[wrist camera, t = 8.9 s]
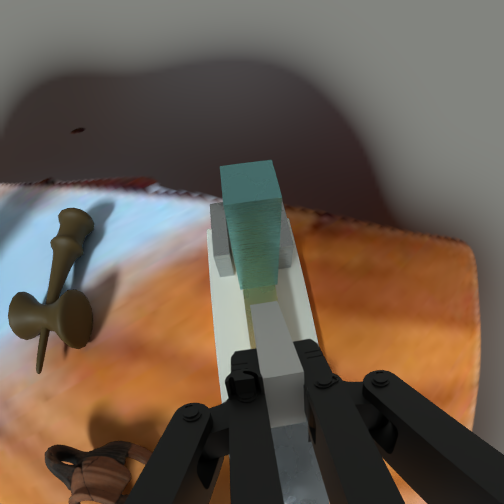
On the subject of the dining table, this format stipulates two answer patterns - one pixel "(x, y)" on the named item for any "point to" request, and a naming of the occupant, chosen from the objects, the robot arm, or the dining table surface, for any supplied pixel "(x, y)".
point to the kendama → (57, 293)
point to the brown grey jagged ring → (95, 470)
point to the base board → (234, 315)
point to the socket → (223, 244)
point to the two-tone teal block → (253, 230)
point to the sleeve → (298, 465)
